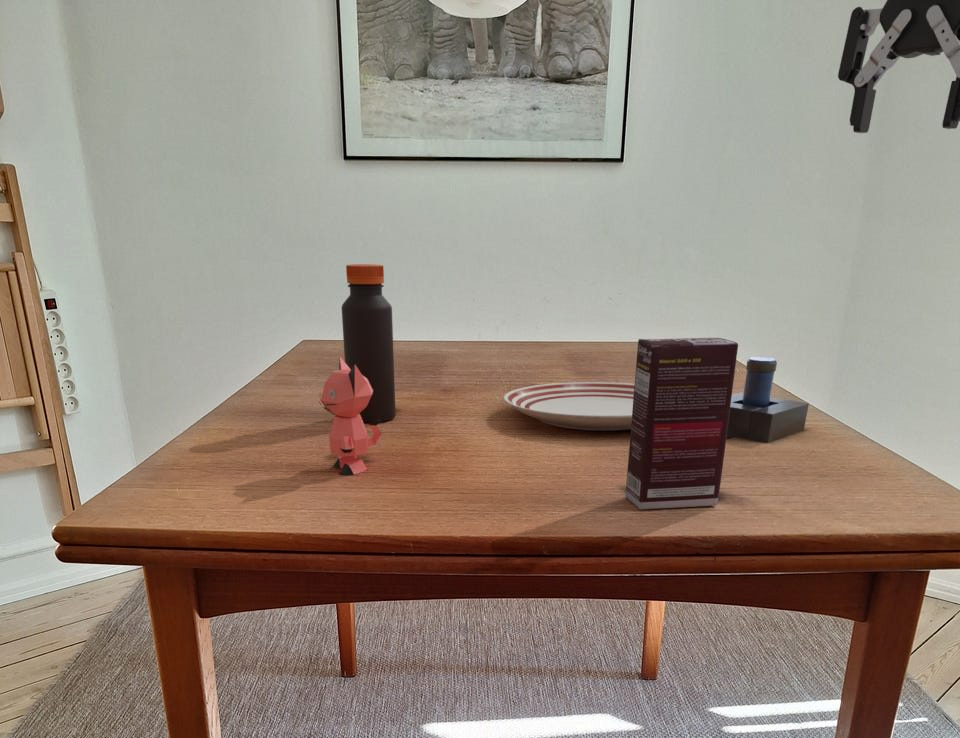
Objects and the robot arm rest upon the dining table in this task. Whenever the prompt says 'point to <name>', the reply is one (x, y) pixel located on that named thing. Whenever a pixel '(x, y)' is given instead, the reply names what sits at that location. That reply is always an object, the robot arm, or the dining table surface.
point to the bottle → (370, 338)
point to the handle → (759, 381)
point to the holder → (765, 419)
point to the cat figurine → (349, 417)
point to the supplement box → (679, 421)
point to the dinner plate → (577, 404)
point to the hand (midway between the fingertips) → (903, 130)
